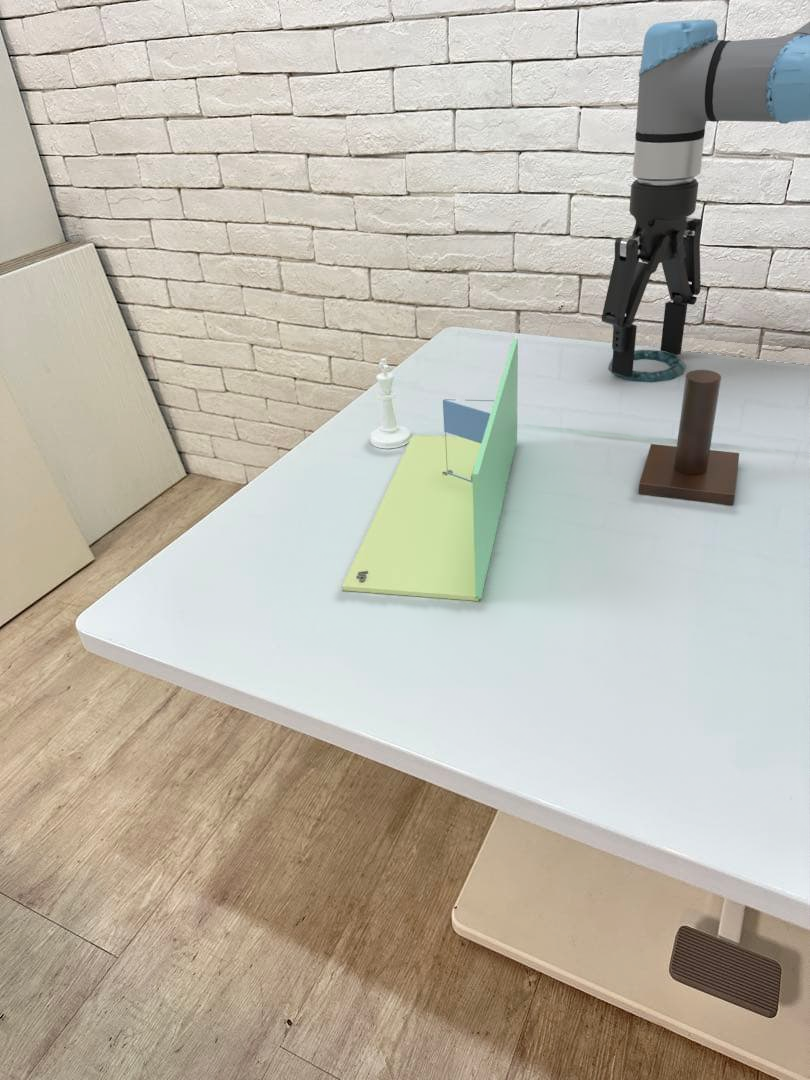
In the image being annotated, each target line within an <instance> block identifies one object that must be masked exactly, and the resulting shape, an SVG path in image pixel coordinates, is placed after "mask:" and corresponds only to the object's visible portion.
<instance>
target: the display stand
mask: <svg viewBox="0 0 810 1080" xmlns="http://www.w3.org/2000/svg"><path fill="white" fill-rule="evenodd" d="M518 359H519V339H518V338H517V337H513V339H512V341H511V345H510V348H509V352H508V355H507V358H506V362H505V364H504V369H503V371H502V375H501V378H500V382H499V384H498V388H497V392H496V394H495V398H494V400H493V399H492V400H491V399H489V400H488V399H466V402H467V401H468V402H469V401H471V402H473V401H474V402H493V405H492V407H491V411H490V412H487V411H484V410H481V409H477V408H475V407H474V408H473V407H471V406H467V405H465V404H464V405H463V404H461V403H456V402H453V401H455V399H451V398H449V399H447V398H445V399H442V412H443V413H442V415H443V432H444V435H425V434H423V435H422V434H412V435H411V439H410V442H409V443H407V446H406V448H405V450H404V452H403V455H402V457H401V458H400V461H399V463H398V465H397V467H396V470H395V471H394V473H393V476H392V478H391V480H390V482H389V485H388V486H387V489H386V490H385V493H384V495H383V497H382V499H381V502H380V504H379V506H378V507H377V510H376V511H375V514H374V517H373V519H372V521H371V523H370V525H369V527H368V529H367V532H366V534H365V536H364V538H363V540H362V542H361V544H360V547H359V549H358V551H357V553H356V555H355V557H354V559H353V561H352V564H351V566H350V567H349V570H348V572H347V575H346V577H345V579H344V580H343V583H342V585H341V589H342V591H345V592H358V593H359V592H360V593H371V594H383V595H384V594H385V595H394V596H395V595H397V596H409V597H410V596H411V597H421V598H422V597H423V598H433V599H434V598H435V599H449V600H460V601H473V602H479V601H480V600H482V597H483V592H484V588H485V584H486V580H487V575H488V570H489V567H490V562H491V557H492V552H493V550H494V545H495V540H496V535H497V531H498V527H499V522H500V518H501V513H502V508H503V504H504V501H505V495H506V492H507V486H508V482H509V478H510V473H511V468H512V465H513V460H514V457H515V452H516V447H517V443H518V387H519V386H518V383H519V382H518V381H519V379H518V378H519V377H518V370H519V369H518V368H519V367H518V364H519V361H518ZM447 434H450V435H447ZM451 435H453V436H451Z"/></svg>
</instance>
